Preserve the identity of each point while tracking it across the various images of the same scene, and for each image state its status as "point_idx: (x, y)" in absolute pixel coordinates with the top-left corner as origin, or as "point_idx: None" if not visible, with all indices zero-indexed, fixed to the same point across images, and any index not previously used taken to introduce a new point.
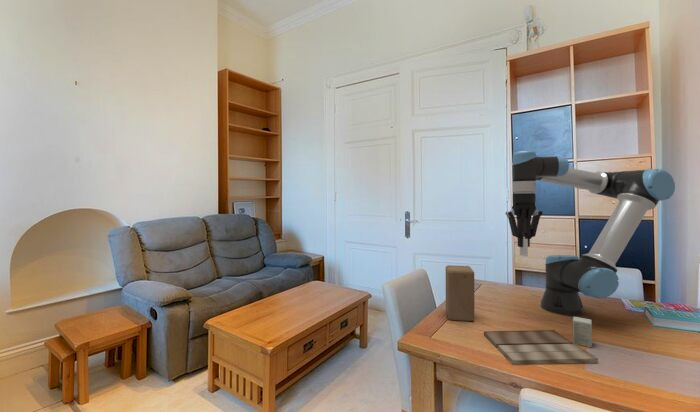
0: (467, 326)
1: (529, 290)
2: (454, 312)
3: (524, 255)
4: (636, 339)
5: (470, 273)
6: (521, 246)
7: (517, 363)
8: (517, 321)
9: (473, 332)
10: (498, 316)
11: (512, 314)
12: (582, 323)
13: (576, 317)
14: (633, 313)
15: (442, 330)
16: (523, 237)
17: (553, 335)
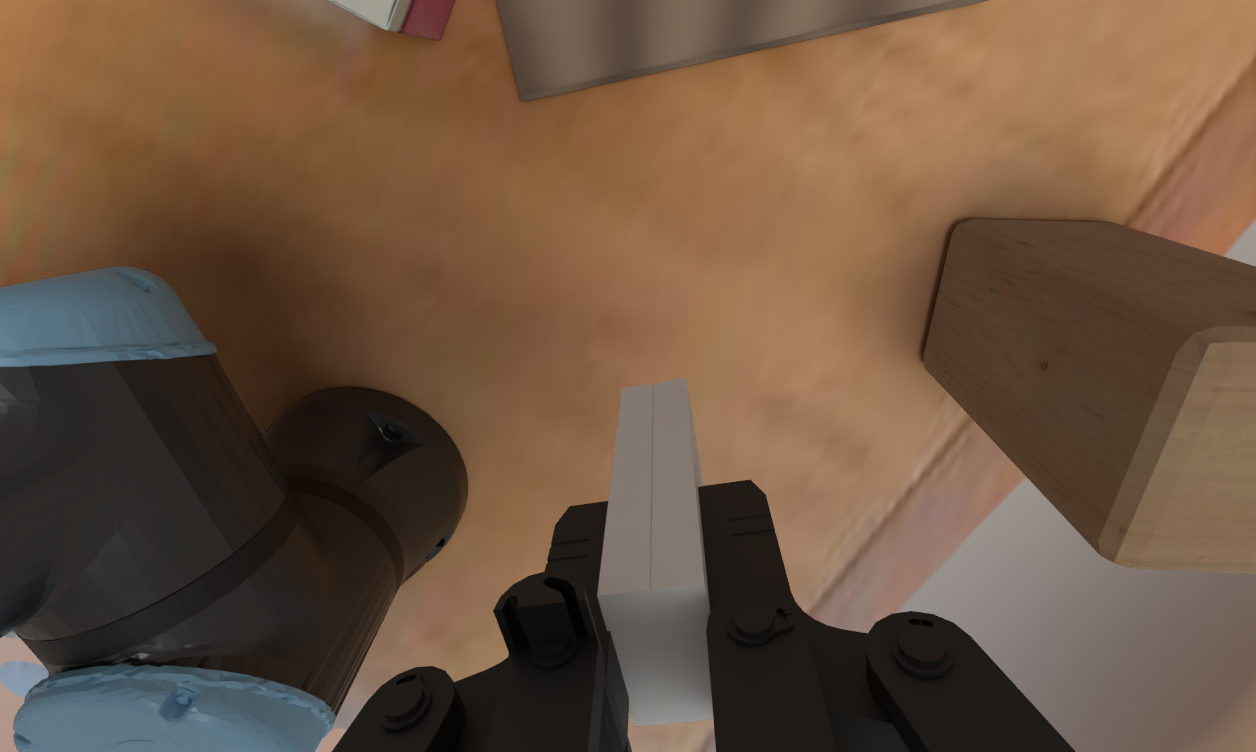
0: (1027, 138)
1: None
2: (1113, 231)
3: (673, 385)
4: (106, 93)
5: (1239, 327)
6: (726, 489)
7: None
8: (676, 265)
9: (1030, 40)
10: (762, 327)
11: (666, 368)
12: None
13: (374, 2)
14: None
15: (1236, 40)
16: (712, 619)
17: (554, 13)
